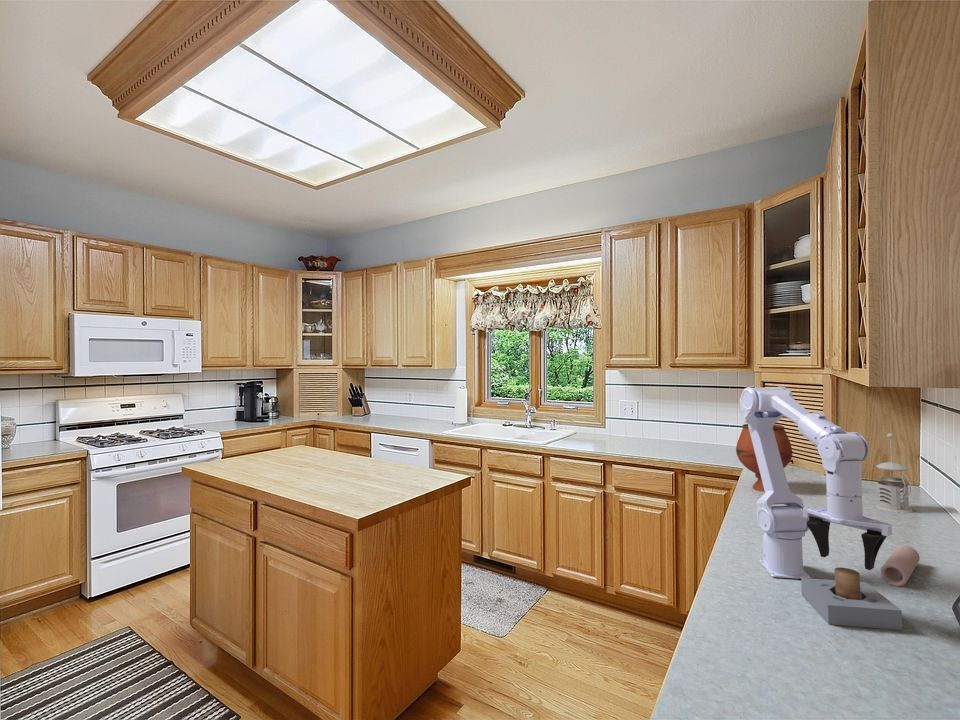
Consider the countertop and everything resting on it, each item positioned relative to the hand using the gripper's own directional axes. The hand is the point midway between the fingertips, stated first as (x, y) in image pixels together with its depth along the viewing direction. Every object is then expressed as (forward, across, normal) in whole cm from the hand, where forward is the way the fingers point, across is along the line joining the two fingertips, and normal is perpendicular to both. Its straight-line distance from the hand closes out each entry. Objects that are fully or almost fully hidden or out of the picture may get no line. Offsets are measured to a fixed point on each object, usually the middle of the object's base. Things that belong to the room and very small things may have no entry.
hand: (846, 562), depth 97 cm
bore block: (+10, 0, 0) cm, 10 cm away
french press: (+10, -20, +88) cm, 90 cm away
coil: (+10, -1, +29) cm, 31 cm away
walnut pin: (+9, 0, 0) cm, 9 cm away
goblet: (+10, -58, +82) cm, 101 cm away
